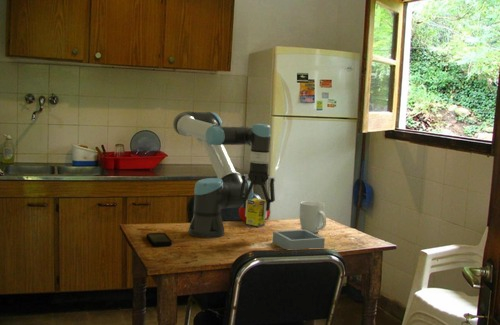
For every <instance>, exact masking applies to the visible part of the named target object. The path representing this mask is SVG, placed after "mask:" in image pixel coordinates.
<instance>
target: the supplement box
mask: <svg viewBox="0 0 500 325" xmlns="http://www.w3.org/2000/svg"><path fill="white" fill-rule="evenodd" d="M265 202H266V199H262V198H256V197H254V198H252V199H250V200H247V216H246V222H245V226H246V227H247V226H248V227H251V228H256V229H258V228H261V227H264V226H265V225H266V220H265V219H263V218H264V203H265Z"/></svg>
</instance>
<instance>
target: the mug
mask: <svg viewBox="0 0 500 325" xmlns="http://www.w3.org/2000/svg"><path fill="white" fill-rule="evenodd" d="M325 208H326V207H325V203H324V202H320V201H315V200H303V201H300V204H299V222H300V227H301V230H307V231H309V232H312V233H314V234H317V233H319V232H320V231H323V230H324V229H325V228H326V226H327V217H326V216H327V215H326V214H325Z"/></svg>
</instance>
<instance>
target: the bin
mask: <svg viewBox="0 0 500 325" xmlns="http://www.w3.org/2000/svg"><path fill="white" fill-rule="evenodd" d="M325 242H326V241H325V237H322V236H320V235H318V234H317V233H312V232H309V231H307V230H302V229H295V230H294V229H293V230H276V231H273V232H272V243H273V244H274V245H277V246H278V247H280V248H282V249H283V250H285V249H309V248H324V249H325Z"/></svg>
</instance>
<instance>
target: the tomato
mask: <svg viewBox="0 0 500 325" xmlns="http://www.w3.org/2000/svg"><path fill="white" fill-rule="evenodd" d="M270 209H271V208H270ZM270 209H269V211H267V218H266V219H265V221H267V220H268V219H269V217H270V215H271V210H270ZM245 211H246V208H244V207H241V208H239V207H238V215H239V218H240V219H241V220H242V221H243V222H245V223H246V217H245Z"/></svg>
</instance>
